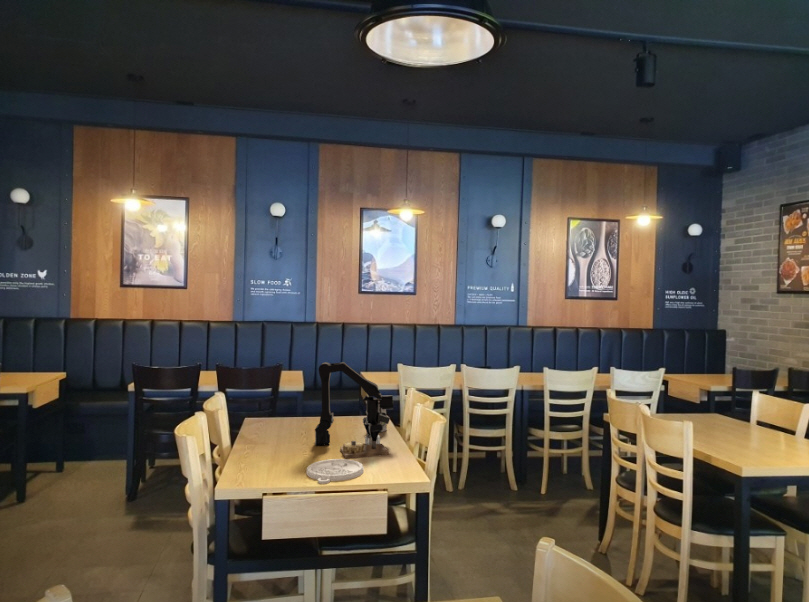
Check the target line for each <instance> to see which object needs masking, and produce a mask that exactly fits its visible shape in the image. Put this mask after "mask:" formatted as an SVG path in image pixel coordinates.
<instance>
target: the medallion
mask: <svg viewBox="0 0 809 602" xmlns="http://www.w3.org/2000/svg"><path fill="white" fill-rule="evenodd" d="M364 469H365V468H364V464H362V462H359V461H357V460H354V459H350V458H332V459H327V458H326V459H325V460H319V461H318V460H317V461H315V462H313V463H310V465H308V466H307V467H306V471H305V472H306V476H308V477H309V478H311V479H314V480H317V483H318V484H321V485H324V484H329V483H330V482H337V481H339V482H340V481H347V480H352V479H355V478H358V477H360V476H361V475H363V474H364Z"/></svg>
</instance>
